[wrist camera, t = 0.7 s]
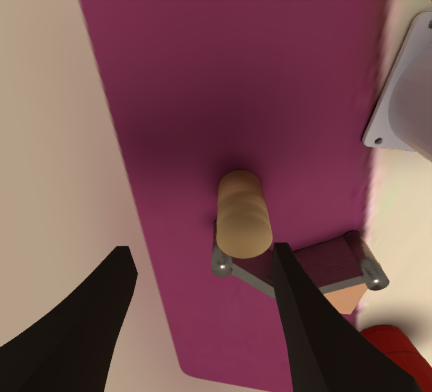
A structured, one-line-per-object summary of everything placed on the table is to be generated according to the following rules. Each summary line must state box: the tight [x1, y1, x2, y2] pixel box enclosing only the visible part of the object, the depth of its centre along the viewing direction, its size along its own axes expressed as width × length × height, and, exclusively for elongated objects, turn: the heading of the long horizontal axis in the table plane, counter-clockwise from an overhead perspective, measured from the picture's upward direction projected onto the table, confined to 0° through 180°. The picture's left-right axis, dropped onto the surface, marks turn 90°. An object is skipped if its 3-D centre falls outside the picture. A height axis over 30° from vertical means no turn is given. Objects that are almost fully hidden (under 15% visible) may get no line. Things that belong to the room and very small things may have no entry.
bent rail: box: [211, 220, 389, 310], centre depth 23 cm, size 14×6×5 cm, turn 84°
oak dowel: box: [216, 170, 272, 258], centre depth 20 cm, size 4×4×6 cm
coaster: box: [323, 264, 381, 314], centre depth 28 cm, size 8×8×1 cm
